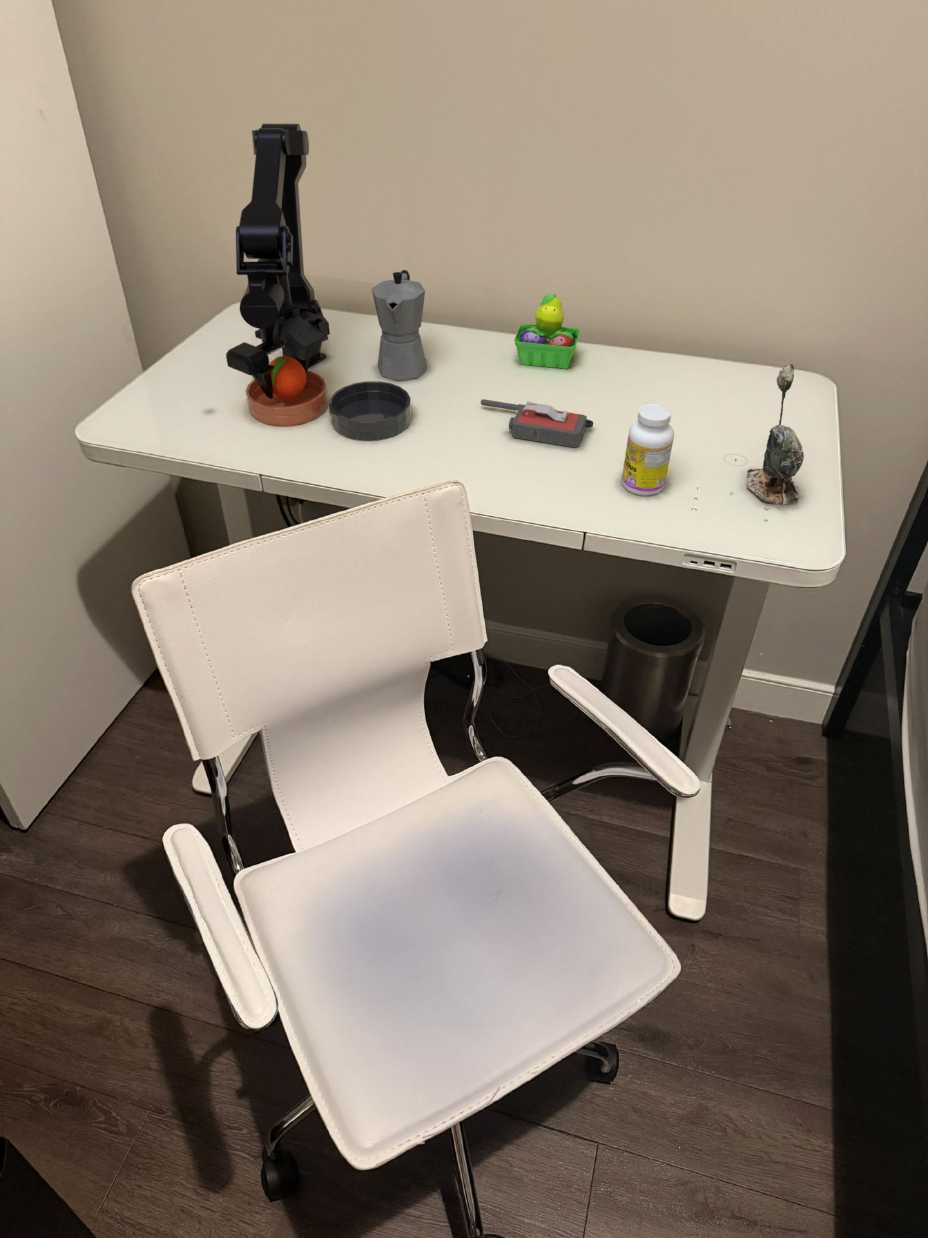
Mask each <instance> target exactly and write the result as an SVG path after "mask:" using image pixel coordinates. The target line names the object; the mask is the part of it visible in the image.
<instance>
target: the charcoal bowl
mask: <svg viewBox="0 0 928 1238" xmlns="http://www.w3.org/2000/svg"><path fill="white" fill-rule="evenodd" d="M411 400H412V398H411V396H410V394H409V393H408V391H407V390H406V389H404V388H402V386H399V385H397V384H394V383H392V382H386V381H381V380H367V381H360V382H359V381H358V382H354V383H350V384H347V385H345V386H343V387H340V388H339V389H338V390H336V391H334V393H333V394H332V395H331V396H330V397H329V399H328V411H329V420H330V424H331V425H332V427H333V429H334V430H335V431H336V432H337V433H338V434H340V435H341V436H343V437H345V438H349V439H352V440H355V441H363V442H364V441H365V442H368V441H369V442H373V441H381V440H386V439H390V438H393V437H395V436H397V435H399V434H401V433H402V432H404V431H405V430H406V429H407V428H408V426H409V425H410V422H411V421H412V402H411Z"/></svg>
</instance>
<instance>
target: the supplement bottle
mask: <svg viewBox="0 0 928 1238" xmlns="http://www.w3.org/2000/svg"><path fill="white" fill-rule="evenodd" d="M671 418H672V411H671V409H670V408H668V407H667V406H666V405H663V404H659V403H646V404H644V405H642V406H640V407H639V409H638V412H637V420H636V421H634V422H633V423H631V425H630V427H629V429H628V433H627V434H628V435H627V441H626V450H625V455H624V461H623V468H622V475H621V483H622V485H623V487H624V488H625V490H627V491H629V492H630V493H632V494H635V495H638V496H653V495H657V494H659V493H660V492H662V491H663V490H664V488H665V486H666V481H667V476H668V471H669V466H670V461H671V454H672V449H673V444H674V439H675V431H674V429H673V427H672V425H671V424H670V423H671Z"/></svg>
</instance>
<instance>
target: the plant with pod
mask: <svg viewBox="0 0 928 1238" xmlns="http://www.w3.org/2000/svg"><path fill="white" fill-rule="evenodd" d="M794 378H795V366H794V364H792V363H786V365H784V366H783V367H782V369H781V370H779V372H778V375H777V377H776V385H777V387H778V389H779V390H780V392H781V403H780V404H781V405H780V406H781V407H780V414H779V421H778V424H777V425H775V426H772V427H771V428H770V430H769V435H768V438H767V442H766V445H765V446H766V449H765V452H764V454H763V462H762V468H754V469H753V468H749V469H747V470H746V472H747V473H746V475H747V479H746V488H747V489H749V490H751V492H753V494H754V495H755V496H758V497H759V499H760V501H763V502H764V503H767V504H773V505H779V504H780V505H785V504H786V505H792V504H795V502H798V501H799V500H800V495H799V490H798V489H799V486H797V485H796V484H795V481H793V477H795V476H796V475H797V473H798V472H799V471H800V469H801V467H802V465H803V462H804V460H805V454H804V449H803V448H804V447H803V445H802V444H801V443H802V442H801V441H800V440H799V437H798V436H797V433H796V432H795V430H794V429H792V428H791V427H790V426H786V425H782V419H783V413H784V401H785V398H786V394H787V392H788V391H789V390H790V389H791V387H792V384H793V382H794Z"/></svg>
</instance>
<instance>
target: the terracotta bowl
mask: <svg viewBox="0 0 928 1238" xmlns="http://www.w3.org/2000/svg"><path fill="white" fill-rule="evenodd" d="M245 396H246V401H247V406H248V410H249V414H250V415H251V416H252V417H253V418H254V419H255V420H256V421H258V422H260V423H262V424H264V425H268V426H273V427H293V426H295V427H296V426H301V425H303V424H307V423H310V422H312V421H314V420H317V419H318V418H319V417H321V416H322V415H323V414H324V413H325V412H326V410H327V408H328V406H329V395H328V386H327V382H326V380H325V378H323V377H322V376H321V375H320V374H319V373H316V372H314V371H311V370H309V369H308V370H307V374H306V384H305V387H304V389H303V390H302V391H301V393H300V394H298V395H297V396H295V397H292V398H282V397H279V396H276V395H275V394H274V393H273V398H272V399H270V398H268V397H267V396H266V395H265V393H264V392H263V390H262V389H261V388H260V386H259V385H258V383H257V382H256V381H255V379H254V378H253V379H252V380H251V381H250V382H249V383H248V384H247V386H246V388H245Z"/></svg>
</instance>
